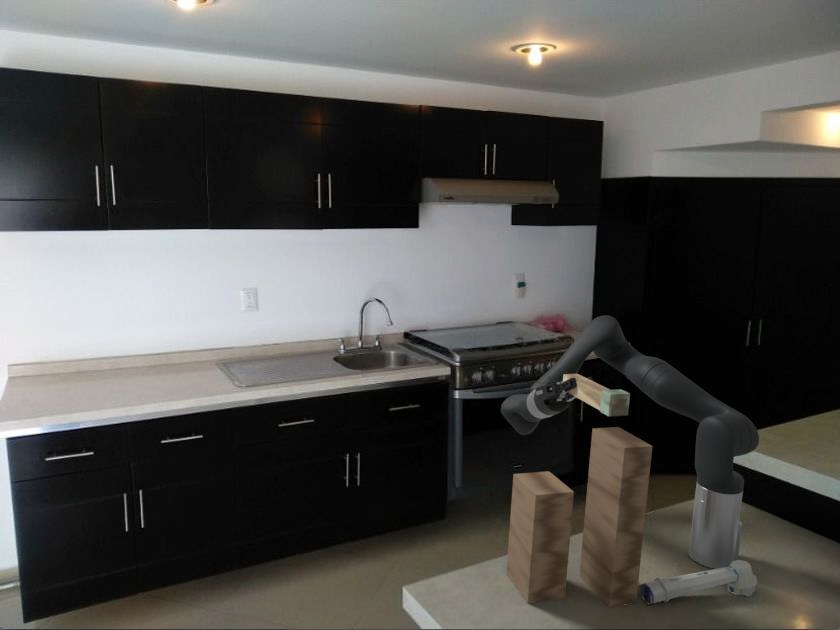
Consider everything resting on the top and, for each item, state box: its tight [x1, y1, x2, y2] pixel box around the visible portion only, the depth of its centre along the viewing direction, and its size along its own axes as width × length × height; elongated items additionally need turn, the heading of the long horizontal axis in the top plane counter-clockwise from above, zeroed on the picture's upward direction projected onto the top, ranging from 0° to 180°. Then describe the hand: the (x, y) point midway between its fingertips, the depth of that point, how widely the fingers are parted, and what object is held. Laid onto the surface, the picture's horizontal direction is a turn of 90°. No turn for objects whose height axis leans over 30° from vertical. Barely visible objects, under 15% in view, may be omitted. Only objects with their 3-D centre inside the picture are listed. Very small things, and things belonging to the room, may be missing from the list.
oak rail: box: [563, 373, 631, 417], centre depth 131 cm, size 4×19×4 cm, turn 16°
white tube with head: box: [639, 559, 758, 605], centre depth 125 cm, size 5×7×25 cm
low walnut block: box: [505, 470, 575, 604], centre depth 124 cm, size 8×10×22 cm
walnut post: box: [578, 426, 653, 608], centre depth 124 cm, size 6×11×32 cm, turn 16°
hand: (583, 381), depth 135 cm, fingers closed on oak rail, 3 cm apart
